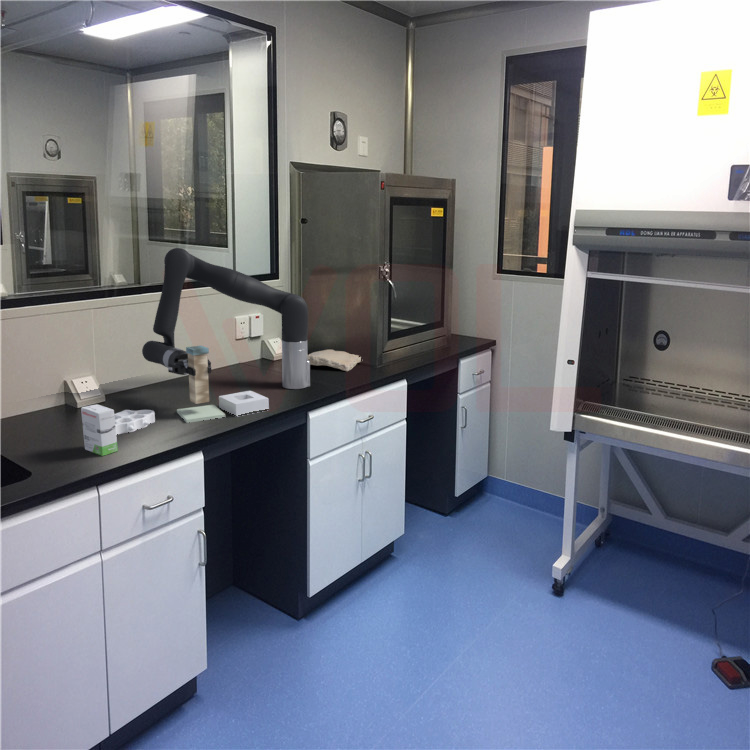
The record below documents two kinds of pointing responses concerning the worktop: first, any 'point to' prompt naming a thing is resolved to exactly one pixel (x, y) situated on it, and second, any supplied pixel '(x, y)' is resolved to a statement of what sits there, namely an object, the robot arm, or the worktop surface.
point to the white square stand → (243, 402)
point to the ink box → (99, 429)
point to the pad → (200, 413)
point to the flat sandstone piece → (334, 359)
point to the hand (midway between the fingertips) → (202, 371)
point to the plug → (198, 374)
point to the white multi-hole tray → (133, 420)
